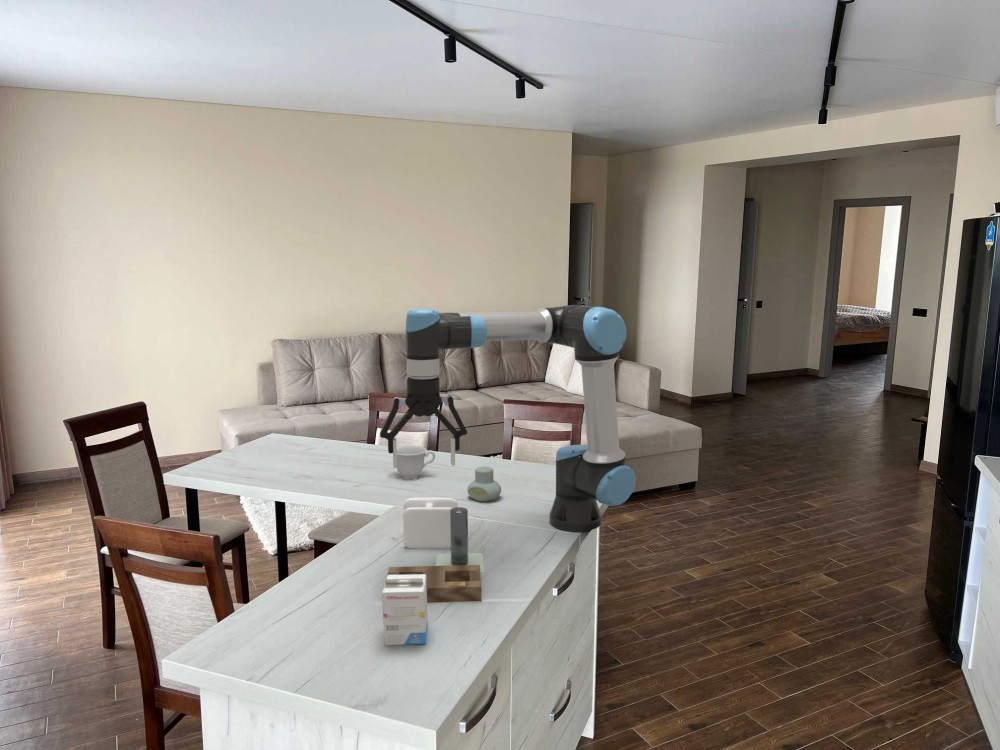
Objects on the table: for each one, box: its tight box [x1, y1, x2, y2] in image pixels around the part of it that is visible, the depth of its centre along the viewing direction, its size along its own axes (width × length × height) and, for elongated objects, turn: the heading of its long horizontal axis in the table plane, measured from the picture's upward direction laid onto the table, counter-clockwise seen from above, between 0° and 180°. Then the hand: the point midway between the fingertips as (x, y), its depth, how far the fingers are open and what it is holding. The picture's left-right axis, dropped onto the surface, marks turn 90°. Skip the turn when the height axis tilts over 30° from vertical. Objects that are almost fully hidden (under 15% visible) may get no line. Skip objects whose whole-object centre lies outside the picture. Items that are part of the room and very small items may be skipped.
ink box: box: [381, 574, 429, 646], centre depth 152 cm, size 9×8×13 cm
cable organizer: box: [402, 497, 459, 549], centre depth 201 cm, size 15×11×12 cm
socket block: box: [386, 565, 482, 604], centre depth 173 cm, size 22×12×4 cm, turn 93°
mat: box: [435, 552, 485, 574], centre depth 187 cm, size 12×12×1 cm
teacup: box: [396, 445, 436, 481], centre depth 259 cm, size 12×15×10 cm
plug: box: [450, 506, 469, 565], centre depth 186 cm, size 4×4×14 cm
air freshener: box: [466, 466, 502, 502], centre depth 237 cm, size 11×8×10 cm
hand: (424, 465), depth 173 cm, fingers open, 13 cm apart
